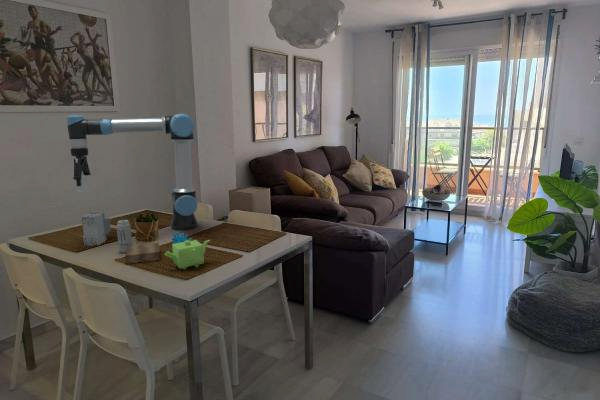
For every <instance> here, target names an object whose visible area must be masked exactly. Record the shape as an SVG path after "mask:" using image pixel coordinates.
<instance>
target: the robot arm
mask: <svg viewBox="0 0 600 400" xmlns="http://www.w3.org/2000/svg"><path fill="white" fill-rule="evenodd" d="M66 120H67V123H66V124H67V133H68V139H69V140H68V143H69V145H70V146H69V147H70V155H71V156H72V157H75V158H74V159H73V178H72V179H73V180H75V187H76V194H77V193H78V194H81V193H82V194H83V193H85V192H84V189H90V188H92V187H91V181H90V179H91V178H90V176H91V170H90V167H89V163H88V158H87V156H89V149H88V138H87V136H95V135H96V136H100V135H101V136H106V135H107V136H108V135H112V134H134V133H135V134H139V133H143V134H144V133H163V134H166V135H167V134H170V141H171V142H173V147H174V167H175V168H174V169H175V188H172V190H171V194H170V195H171V200H172V201H171V202H172V218H171V221H170V229H172V230H175V231H185V230H186V231H187V230H192V229H195V228H198V226H199V225H198V220H197V217H196V215H195V212H196V211H197V209H198V200H197V194H196V193H197V192H196V188H194V185H193V184H194V183H193V163H192V161H193V160H192V142H193V141H194V130H195V123H194V119H192V118H191V116H190V115H188V114H187V113H175V114H171V115H163V116H162V117H146V118H144V117H143V118H140V117H139V118H96V119H86V118H85V116H84V115H68V116H67V117H66Z"/></svg>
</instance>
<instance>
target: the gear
mask: <svg viewBox="0 0 600 400" xmlns="http://www.w3.org/2000/svg"><path fill="white" fill-rule="evenodd" d="M171 240H172V244H175V243H181V242H184V241H187V240H189V241H192V237H190V238H188V235H186V234H185V235H184V233H183V232H181V233H180V232H175V233H174V234H173V235H172V237H171Z"/></svg>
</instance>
